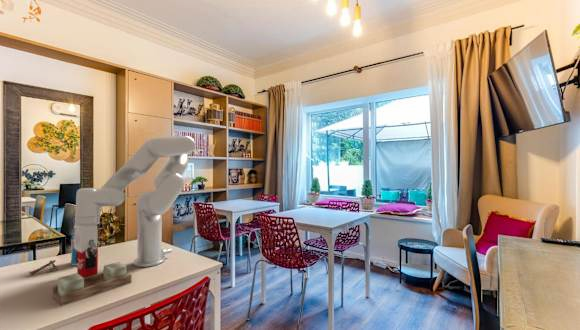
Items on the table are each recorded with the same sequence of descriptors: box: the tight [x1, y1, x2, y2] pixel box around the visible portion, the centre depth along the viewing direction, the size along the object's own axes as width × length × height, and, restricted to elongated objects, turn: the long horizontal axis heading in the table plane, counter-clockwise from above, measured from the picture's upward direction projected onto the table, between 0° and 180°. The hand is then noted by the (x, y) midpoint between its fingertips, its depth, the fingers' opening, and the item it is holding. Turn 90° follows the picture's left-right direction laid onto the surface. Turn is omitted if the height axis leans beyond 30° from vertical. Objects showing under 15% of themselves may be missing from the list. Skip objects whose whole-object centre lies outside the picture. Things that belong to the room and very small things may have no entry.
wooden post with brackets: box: [28, 259, 58, 277], centre depth 104 cm, size 2×8×4 cm, turn 135°
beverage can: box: [76, 247, 99, 278], centre depth 101 cm, size 6×6×12 cm
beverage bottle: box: [70, 217, 77, 266], centre depth 115 cm, size 8×8×20 cm
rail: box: [52, 261, 132, 306], centre depth 92 cm, size 20×10×6 cm, turn 145°
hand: (85, 264), depth 100 cm, fingers open, 9 cm apart
